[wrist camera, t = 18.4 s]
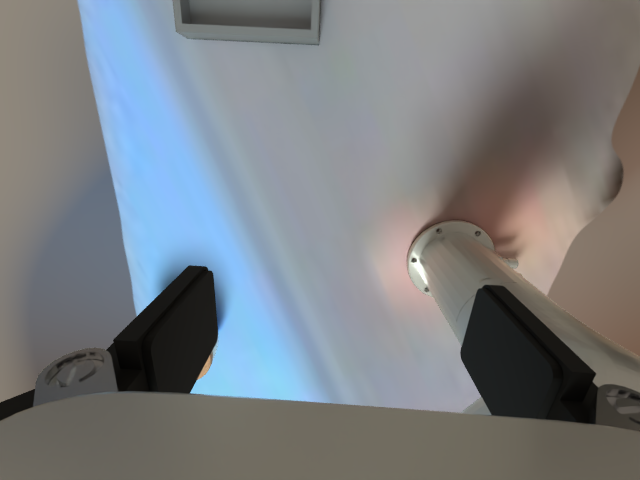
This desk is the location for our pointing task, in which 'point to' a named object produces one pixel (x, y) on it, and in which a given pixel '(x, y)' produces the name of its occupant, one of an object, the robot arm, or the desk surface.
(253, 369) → the desk surface
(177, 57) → the desk surface
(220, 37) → the tray
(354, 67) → the desk surface
